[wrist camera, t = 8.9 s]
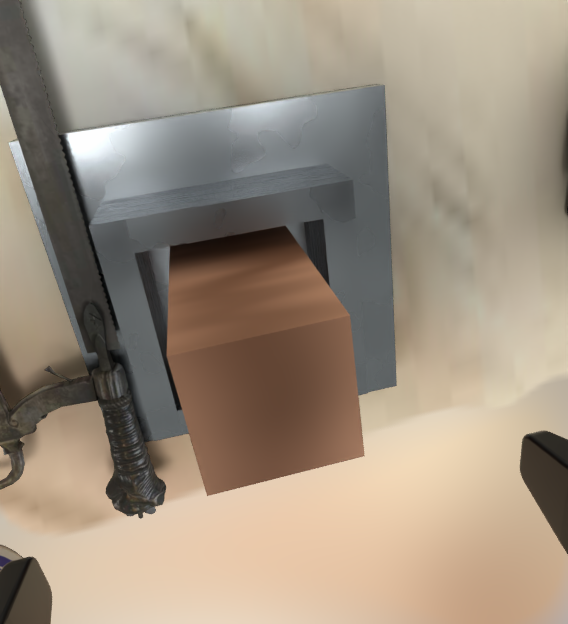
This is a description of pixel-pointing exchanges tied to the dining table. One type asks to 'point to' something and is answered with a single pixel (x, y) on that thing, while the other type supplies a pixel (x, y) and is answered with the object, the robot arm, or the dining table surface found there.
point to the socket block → (232, 219)
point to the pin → (260, 359)
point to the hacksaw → (69, 288)
